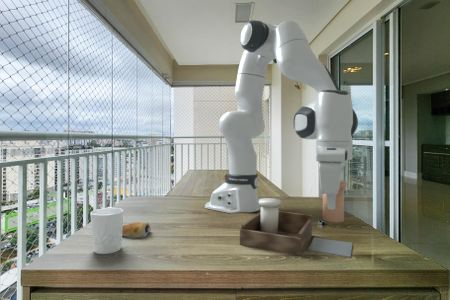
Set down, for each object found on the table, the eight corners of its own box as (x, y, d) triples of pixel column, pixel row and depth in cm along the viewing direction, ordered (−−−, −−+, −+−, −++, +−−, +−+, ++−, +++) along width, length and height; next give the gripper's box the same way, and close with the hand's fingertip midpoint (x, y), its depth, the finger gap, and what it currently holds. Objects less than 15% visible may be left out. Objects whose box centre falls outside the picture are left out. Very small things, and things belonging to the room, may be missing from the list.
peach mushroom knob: (318, 221, 76) (318, 182, 75) (322, 215, 81) (322, 178, 81) (345, 224, 73) (345, 183, 72) (347, 217, 79) (347, 180, 78)
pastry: (112, 238, 86) (112, 225, 86) (123, 230, 93) (123, 218, 92) (144, 239, 85) (144, 226, 85) (152, 231, 92) (152, 219, 91)
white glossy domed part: (255, 235, 86) (255, 201, 85) (262, 229, 92) (262, 197, 91) (276, 239, 83) (277, 203, 83) (282, 232, 89) (283, 199, 88)
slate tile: (307, 252, 75) (307, 249, 75) (314, 240, 84) (314, 237, 84) (350, 259, 71) (350, 256, 71) (352, 245, 80) (352, 243, 80)
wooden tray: (239, 246, 79) (240, 222, 79) (259, 229, 93) (259, 208, 93) (300, 257, 72) (300, 230, 72) (311, 237, 86) (312, 215, 86)
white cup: (97, 244, 80) (96, 207, 80) (127, 243, 81) (126, 207, 81) (86, 255, 73) (85, 215, 72) (119, 255, 73) (118, 215, 73)
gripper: (325, 150, 87) (325, 197, 88) (314, 154, 69) (314, 213, 69) (349, 150, 84) (348, 199, 85) (344, 155, 66) (343, 216, 67)
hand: (333, 205), depth 77 cm, fingers closed on peach mushroom knob, 6 cm apart
